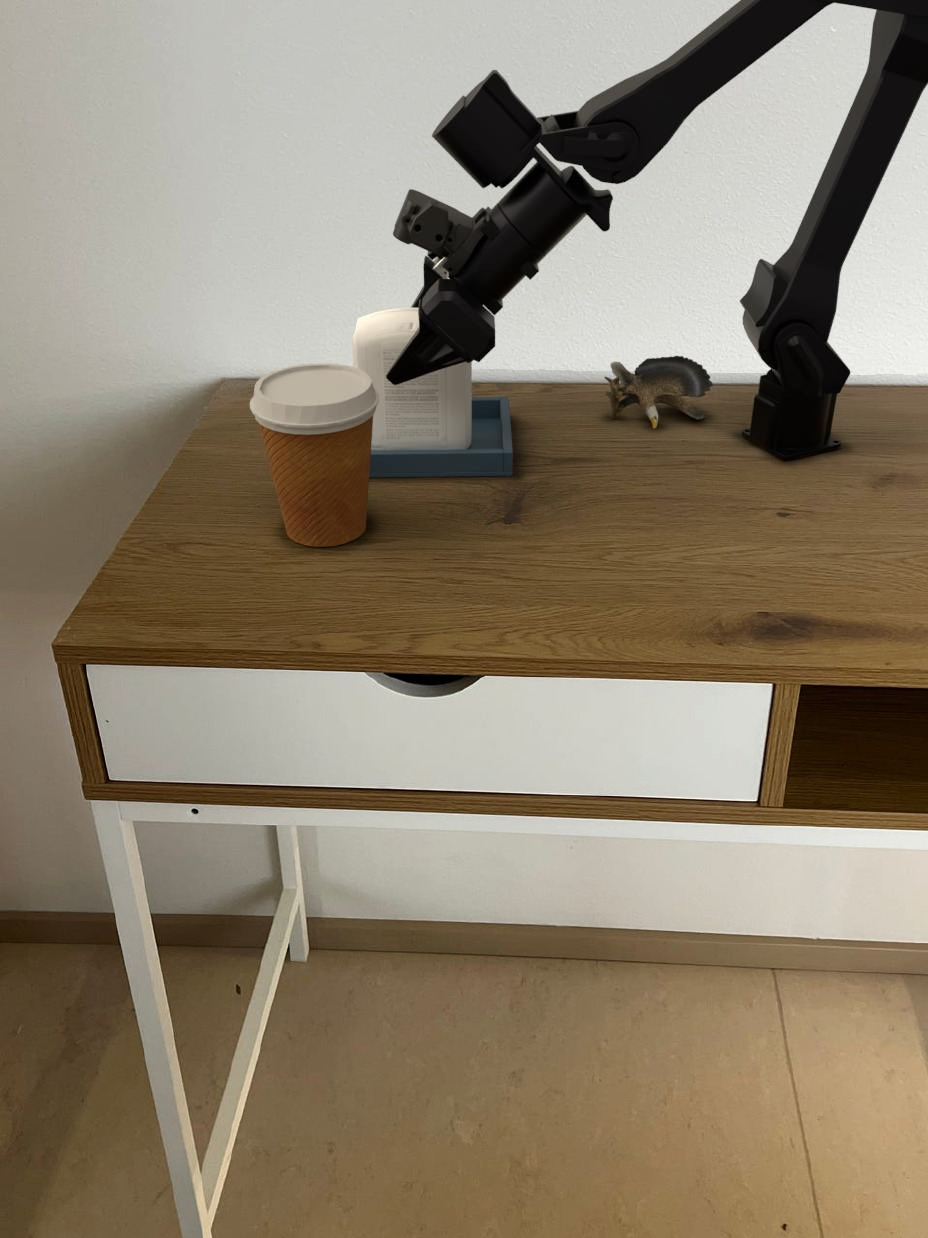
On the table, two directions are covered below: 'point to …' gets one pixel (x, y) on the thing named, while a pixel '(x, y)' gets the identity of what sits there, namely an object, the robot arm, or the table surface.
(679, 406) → the eagle figurine
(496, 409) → the tray
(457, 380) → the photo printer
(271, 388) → the disposable coffee cup
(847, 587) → the table surface
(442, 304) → the robot arm
